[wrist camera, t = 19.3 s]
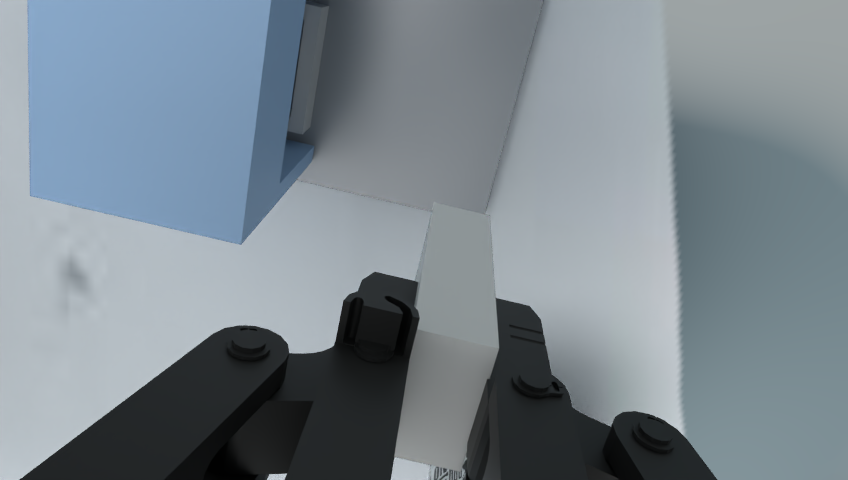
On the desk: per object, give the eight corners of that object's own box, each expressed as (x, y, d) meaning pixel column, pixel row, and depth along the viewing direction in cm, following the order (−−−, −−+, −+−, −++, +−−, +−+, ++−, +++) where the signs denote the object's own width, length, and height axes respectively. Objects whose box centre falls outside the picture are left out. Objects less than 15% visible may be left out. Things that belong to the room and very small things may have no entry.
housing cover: (166, 127, 40) (30, 195, 27) (180, -69, 35) (26, -91, 23) (311, 161, 40) (240, 244, 28) (342, -30, 36) (274, -32, 23)
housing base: (58, 113, 42) (18, 127, 38) (59, -129, 37) (13, -141, 33) (481, 212, 43) (482, 235, 39) (543, -12, 37) (550, -11, 34)
